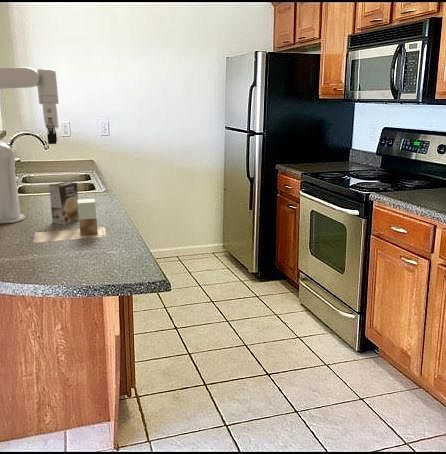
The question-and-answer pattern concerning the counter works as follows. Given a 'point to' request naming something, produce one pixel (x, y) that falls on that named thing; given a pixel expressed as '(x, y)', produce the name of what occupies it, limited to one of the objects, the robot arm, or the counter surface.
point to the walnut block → (88, 227)
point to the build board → (65, 235)
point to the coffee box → (64, 202)
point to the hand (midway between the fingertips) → (52, 142)
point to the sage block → (86, 209)
